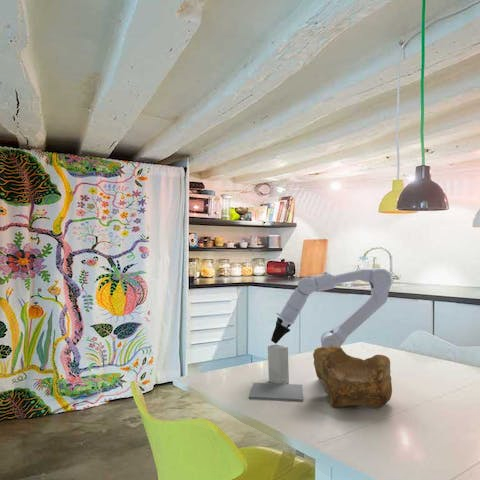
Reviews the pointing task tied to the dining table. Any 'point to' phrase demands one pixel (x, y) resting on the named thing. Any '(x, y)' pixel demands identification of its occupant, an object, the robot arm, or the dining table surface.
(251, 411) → the dining table surface
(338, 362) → the rough brown rock
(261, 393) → the rubber mat
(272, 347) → the skincare box
